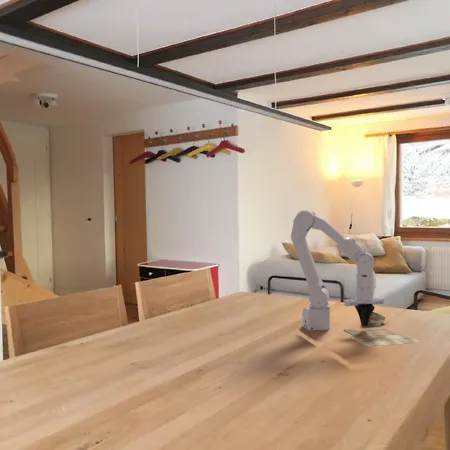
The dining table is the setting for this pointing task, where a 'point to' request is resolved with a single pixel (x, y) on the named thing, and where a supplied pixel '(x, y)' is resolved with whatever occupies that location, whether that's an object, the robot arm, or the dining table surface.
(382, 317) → the rock
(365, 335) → the plank
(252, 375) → the dining table surface
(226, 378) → the dining table surface
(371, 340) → the beige grooved panel
